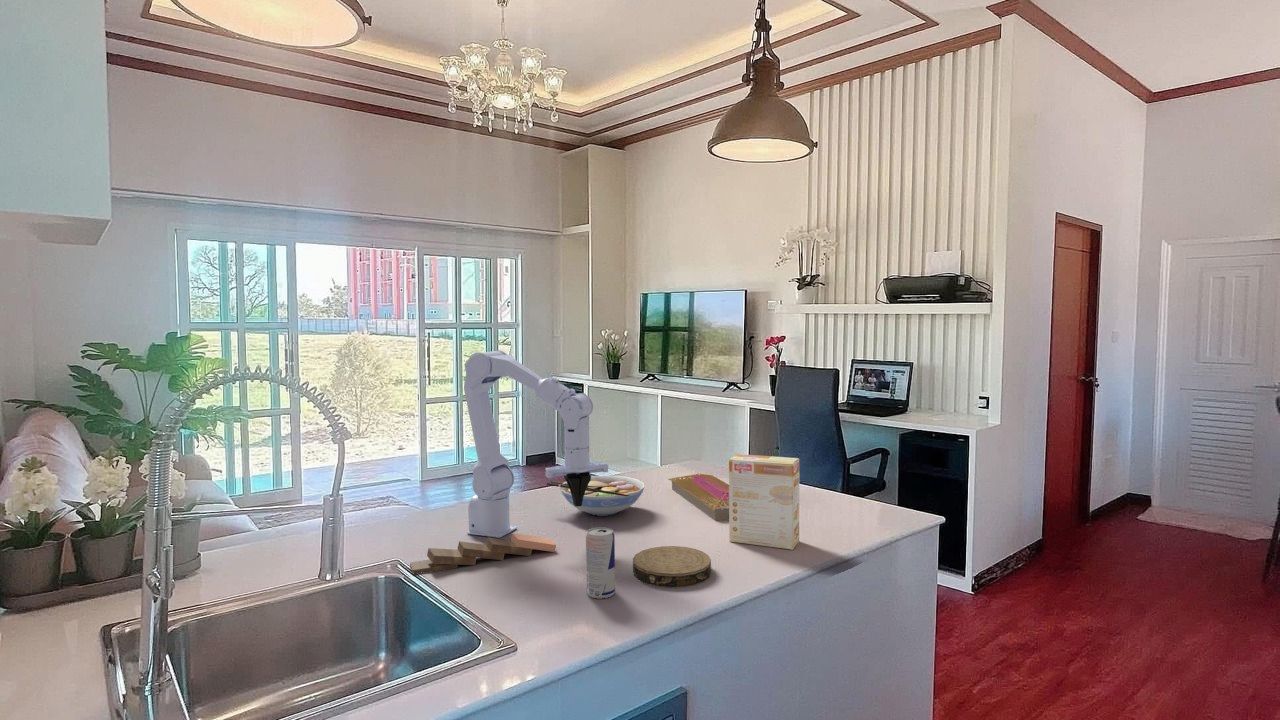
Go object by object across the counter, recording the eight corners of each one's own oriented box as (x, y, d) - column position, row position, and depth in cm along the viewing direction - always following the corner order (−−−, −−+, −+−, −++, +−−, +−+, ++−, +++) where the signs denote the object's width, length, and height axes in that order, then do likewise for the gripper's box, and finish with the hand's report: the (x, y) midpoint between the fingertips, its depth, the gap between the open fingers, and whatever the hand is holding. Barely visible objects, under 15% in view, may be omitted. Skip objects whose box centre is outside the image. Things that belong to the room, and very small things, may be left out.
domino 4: (530, 556, 151) (490, 551, 147) (524, 549, 156) (485, 544, 152) (532, 548, 151) (492, 543, 147) (526, 542, 156) (487, 537, 152)
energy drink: (619, 590, 132) (618, 528, 131) (609, 601, 127) (608, 537, 126) (593, 586, 134) (592, 525, 133) (582, 597, 129) (581, 534, 128)
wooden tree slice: (726, 577, 138) (726, 563, 138) (661, 595, 130) (661, 579, 130) (680, 554, 152) (680, 541, 152) (618, 569, 143) (618, 555, 143)
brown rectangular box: (668, 490, 208) (668, 470, 207) (712, 486, 212) (712, 466, 211) (713, 523, 174) (713, 499, 174) (764, 518, 178) (764, 495, 178)
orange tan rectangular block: (554, 552, 153) (515, 546, 150) (548, 545, 158) (510, 539, 154) (556, 545, 153) (517, 539, 150) (549, 538, 158) (512, 532, 154)
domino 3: (503, 560, 149) (462, 555, 145) (497, 553, 153) (457, 548, 149) (504, 553, 149) (463, 548, 145) (498, 546, 153) (459, 541, 149)
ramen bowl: (665, 508, 187) (664, 478, 186) (617, 531, 167) (617, 498, 167) (590, 496, 200) (590, 468, 199) (538, 516, 181) (538, 485, 180)
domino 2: (474, 565, 146) (432, 563, 141) (468, 557, 150) (426, 555, 146) (476, 557, 146) (434, 555, 141) (469, 550, 150) (428, 548, 146)
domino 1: (457, 570, 145) (412, 577, 141) (453, 563, 149) (410, 569, 146) (457, 563, 145) (412, 570, 141) (453, 555, 149) (410, 562, 145)
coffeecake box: (800, 541, 159) (800, 457, 158) (793, 550, 152) (793, 463, 151) (737, 533, 165) (737, 452, 164) (728, 542, 159) (728, 458, 158)
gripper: (550, 452, 152) (551, 513, 152) (612, 447, 157) (613, 505, 158) (542, 447, 158) (543, 505, 159) (602, 442, 164) (602, 498, 165)
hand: (577, 505), depth 159 cm, fingers closed
